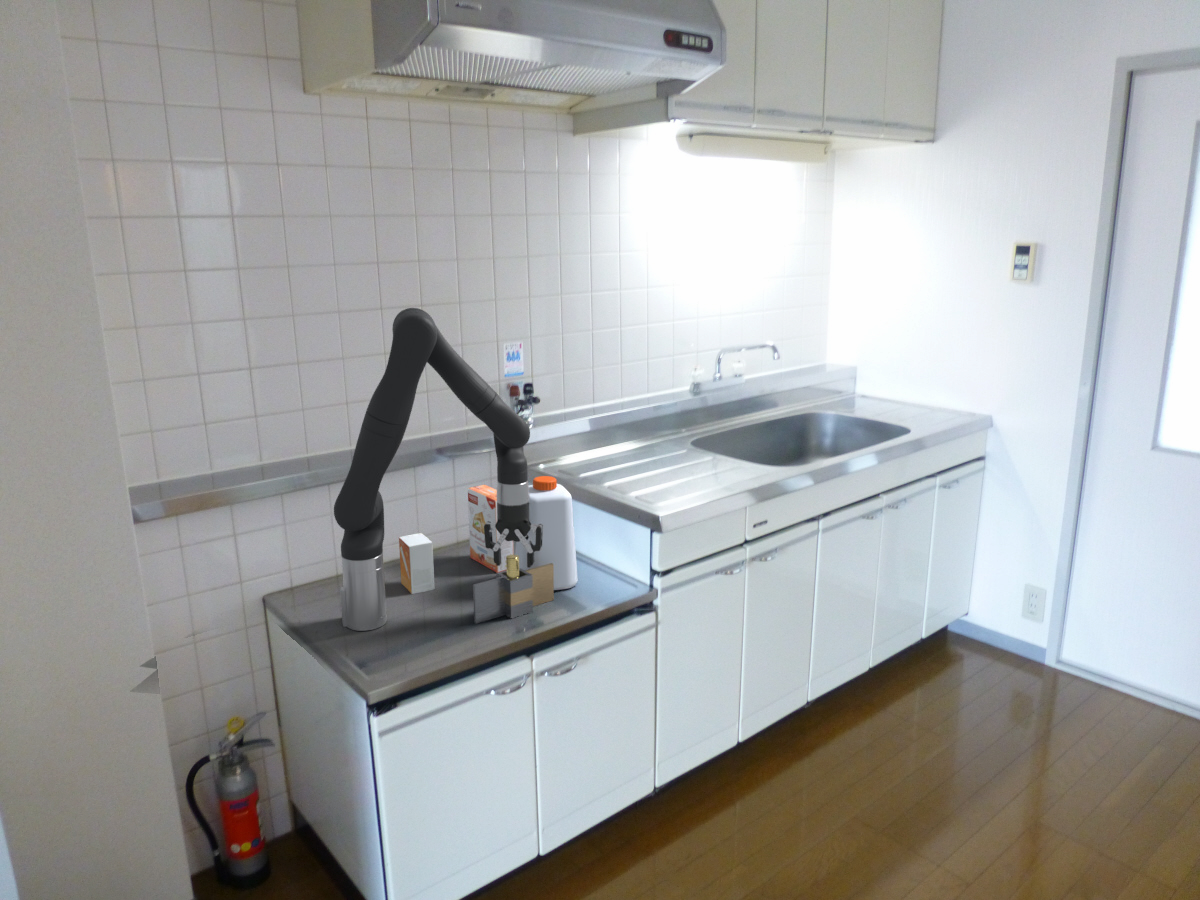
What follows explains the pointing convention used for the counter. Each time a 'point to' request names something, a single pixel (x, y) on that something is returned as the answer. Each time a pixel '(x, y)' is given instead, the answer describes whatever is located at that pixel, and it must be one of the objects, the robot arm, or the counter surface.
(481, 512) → the cracker box
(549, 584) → the hinge
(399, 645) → the counter surface
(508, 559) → the hinge pin
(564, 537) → the plastic bottle
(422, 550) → the small box
